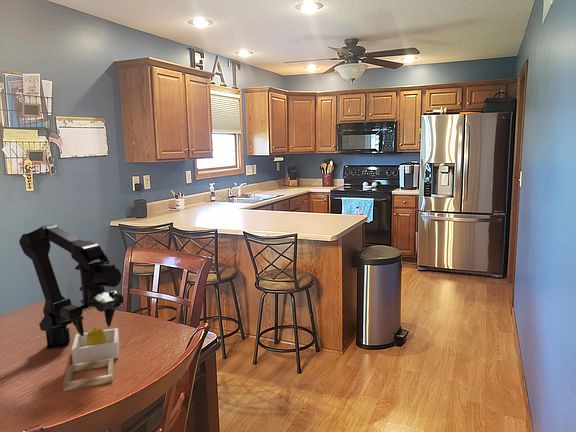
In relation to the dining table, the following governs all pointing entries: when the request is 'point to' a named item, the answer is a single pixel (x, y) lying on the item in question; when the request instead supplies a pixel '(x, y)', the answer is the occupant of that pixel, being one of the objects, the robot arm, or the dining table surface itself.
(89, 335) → the lemon
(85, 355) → the bin
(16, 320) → the dining table surface
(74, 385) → the rectangular frame
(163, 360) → the dining table surface
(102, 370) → the dining table surface
